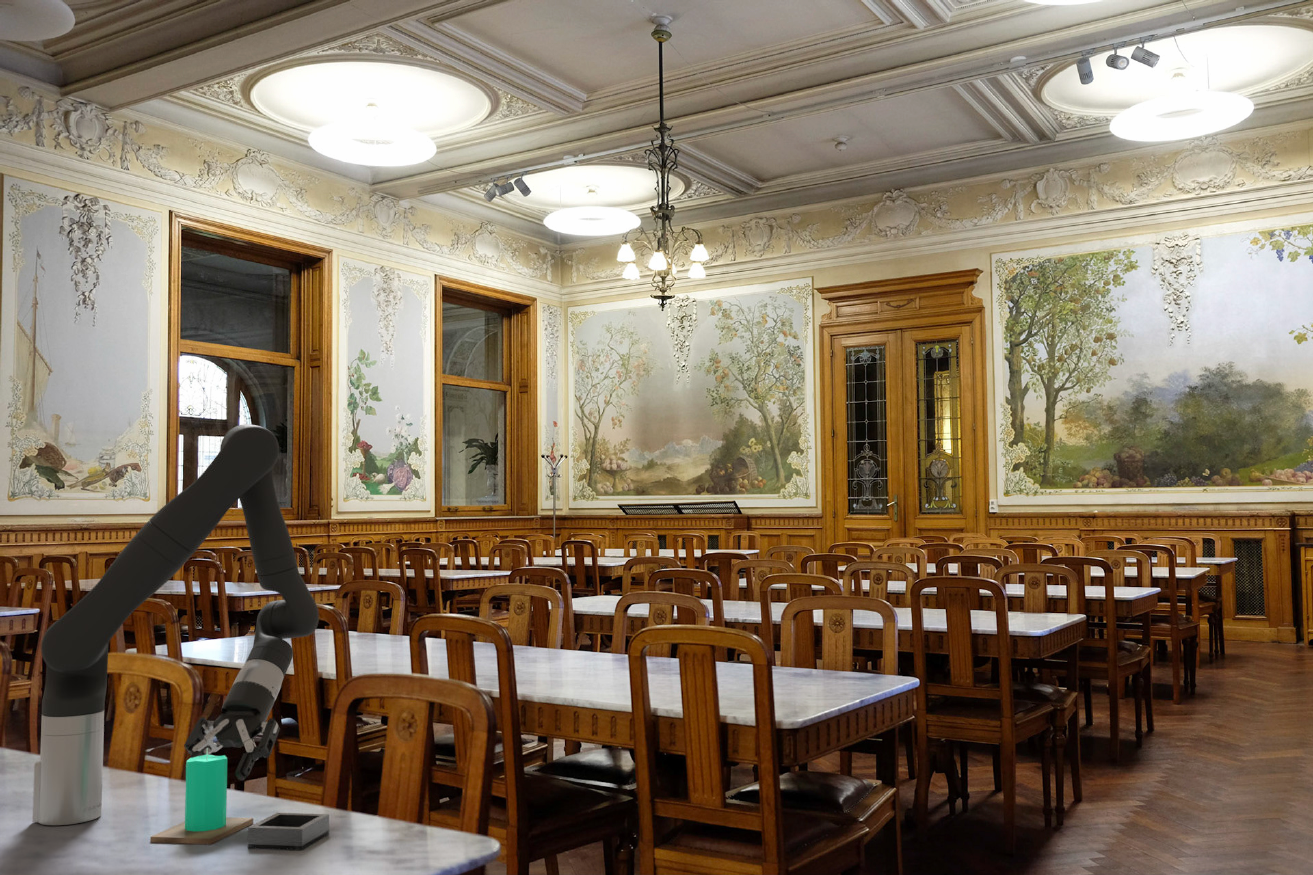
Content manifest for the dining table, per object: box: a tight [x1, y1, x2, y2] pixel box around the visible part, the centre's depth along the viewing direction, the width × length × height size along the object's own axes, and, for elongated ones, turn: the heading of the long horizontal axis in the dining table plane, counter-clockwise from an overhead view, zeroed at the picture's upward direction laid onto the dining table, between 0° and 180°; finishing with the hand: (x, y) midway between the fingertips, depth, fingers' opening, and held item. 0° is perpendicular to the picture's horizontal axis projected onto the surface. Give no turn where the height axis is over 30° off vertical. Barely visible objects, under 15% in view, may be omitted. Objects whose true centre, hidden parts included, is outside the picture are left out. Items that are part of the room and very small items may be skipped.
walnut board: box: [149, 816, 254, 845], centre depth 172 cm, size 10×12×1 cm
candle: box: [184, 747, 228, 831], centre depth 173 cm, size 6×6×12 cm
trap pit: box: [247, 812, 330, 851], centre depth 166 cm, size 9×9×3 cm
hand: (214, 776), depth 175 cm, fingers open, 8 cm apart
